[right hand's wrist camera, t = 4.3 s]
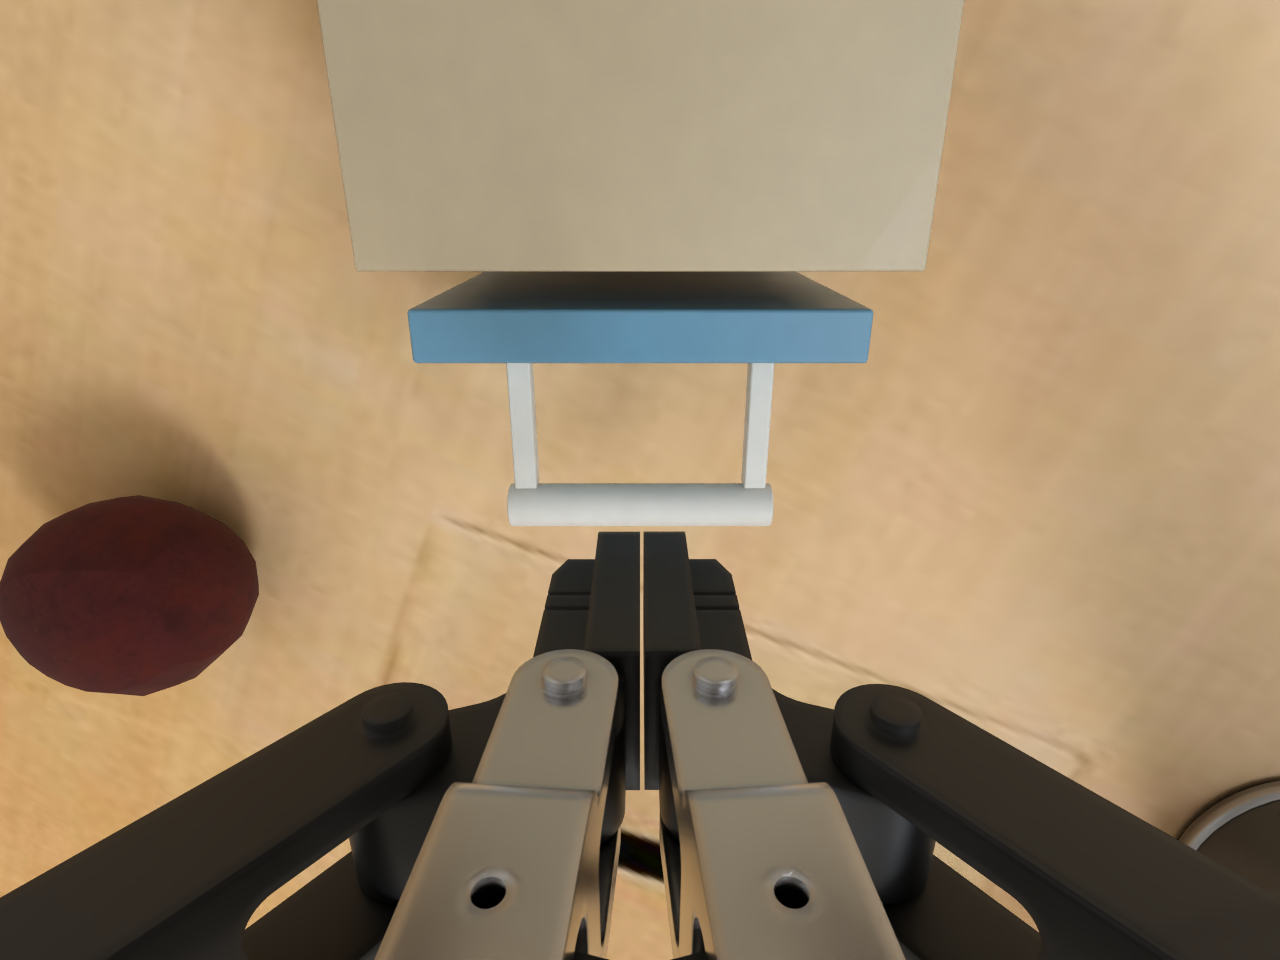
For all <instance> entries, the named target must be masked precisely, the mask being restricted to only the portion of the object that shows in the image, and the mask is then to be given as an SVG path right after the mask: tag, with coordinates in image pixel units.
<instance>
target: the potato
mask: <svg viewBox="0 0 1280 960" xmlns="http://www.w3.org/2000/svg"><path fill="white" fill-rule="evenodd" d="M258 595H259V585H258V576H257V569H256V562H255V560H254V558H253V556H252V555H251V553H250V551H249V550H248V548H247V547H246V545H245V543H244V542H243V540H242V539H240V538H239V537H238V536H237V535H236V534H235V533H234V532H232V531H231V530H230V529H229V528H228V527H227V526H226V525H224V524H223V523H221V522H219V521H217V520H215V519H213V518H211V517H209V516H207V515H205V514H203V513H201V512H199V511H197V510H195V509H193V508H191V507H189V506H186V505H183V504H180V503H176V502H171V501H166V500H160V499H155V498H150V497H144V496H130V497H121V498H116V499H110V500H105V501H100V502H95V503H90V504H87V505H85V506H82V507H80V508H77V509H75V510H72V511H70V512H68V513H65V514H63V515H61V516H59V517H57V518H55V519H53V520H51V521H49V522H47V523H45V524H43V525H42V526H41V527H40V528H39V529H38V530H37V531H36V532H35V533H34V534H33V535H32V536H31V537H30V538H29V539H28V540H27V541H25V542H24V543H23V544H22V545H21V546H20V547H19V548H18V549H17V551H16V552H15V553H14V554H13V555H12V556H11V557H10V558H9V559H8V561H7V564H6V567H5V570H4V573H3V576H2V579H1V581H0V622H1V624H2V627H3V629H4V632H5V634H6V636H7V638H8V639H9V640H10V642H11V643H12V644H13V646H14V647H15V648H16V650H17V651H18V652H19V654H20V655H21V656H22V657H23V658H24V659H25V660H26V661H27V662H28V663H29V664H30V665H32V666H33V667H35V668H36V669H37V670H39V671H40V672H42V673H43V674H45V675H46V676H48V677H50V678H52V679H54V680H56V681H58V682H60V683H62V684H64V685H67V686H70V687H73V688H77V689H80V690H83V691H88V692H101V693H114V694H126V695H138V696H145V695H148V694H151V693H154V692H157V691H160V690H163V689H166V688H169V687H172V686H175V685H178V684H181V683H183V682H186V681H188V680H191V679H193V678H195V677H197V676H198V675H199V674H200V673H201V672H202V671H203V670H205V669H206V668H207V667H208V666H209V665H210V664H211V663H212V662H214V661H215V660H216V659H217V658H218V657H219V656H220V655H221V654H222V653H223V652H224V651H226V650H227V649H228V648H229V647H230V646H231V645H232V644H233V643H234V642H235V641H236V640H237V639H238V638H239V637H241V636H242V634H243V632H244V630H245V628H246V625H247V623H248V621H249V619H250V616H251V614H252V611H253V608H254V606H255V603H256V600H257V598H258Z"/></svg>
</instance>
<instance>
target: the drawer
mask: <svg viewBox="0 0 1280 960" xmlns="http://www.w3.org/2000/svg"><path fill="white" fill-rule="evenodd" d="M872 320H873V310H871V309H869V308H867V307H865V306H863V305H861V304H859V303H857V302H855V301H853V300H851V299H849V298H847V297H845V296H843V295H841V294H839V293H837V292H835V291H833V290H831V289H829V288H827V287H825V286H823V285H821V284H819V283H817V282H815V281H813V280H811V279H809V278H807V277H805V276H803V275H801V274H799V273H797V272H795V271H485V272H483V273H481V274H479V275H477V276H476V277H474V278H472V279H470V280H468V281H466V282H464V283H462V284H460V285H458V286H456V287H454V288H452V289H450V290H448V291H446V292H444V293H442V294H440V295H438V296H436V297H434V298H432V299H430V300H428V301H426V302H424V303H422V304H420V305H418V306H416V307H414V308H412V309H410V310H408V321H409V329H410V337H411V346H412V354H413V360H414V362H416V363H506V365H507V379H508V393H509V407H510V421H511V436H512V450H513V464H514V478H515V483H513V484H511V485H510V487H509V491H508V500H507V510H508V519H509V523H510V525H511V526H770V525H771V522H772V518H773V493H772V488H771V485H770V484H768V483H766V473H767V459H768V445H769V431H770V417H771V403H772V389H773V375H774V363H865V362H867V360H868V353H869V345H870V336H871V328H872ZM533 363H748V375H747V392H746V410H745V427H744V444H743V462H742V479H741V480H742V483H538V482H539V466H538V449H537V431H536V414H535V396H534V379H533Z"/></svg>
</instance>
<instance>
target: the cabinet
mask: <svg viewBox="0 0 1280 960" xmlns="http://www.w3.org/2000/svg"><path fill="white" fill-rule="evenodd" d="M317 5H318V12H319V19H320V26H321V33H322V39H323V46H324V53H325V60H326V67H327V74H328V81H329V88H330V95H331V102H332V109H333V116H334V123H335V130H336V137H337V144H338V151H339V157H340V164H341V171H342V178H343V185H344V192H345V199H346V206H347V213H348V220H349V227H350V234H351V241H352V248H353V255H354V262H355V269H356V271H925V268H926V261H927V255H928V248H929V241H930V234H931V227H932V220H933V213H934V206H935V199H936V192H937V185H938V178H939V172H940V165H941V158H942V151H943V144H944V137H945V130H946V123H947V116H948V109H949V102H950V95H951V89H952V82H953V75H954V68H955V61H956V54H957V47H958V40H959V33H960V26H961V19H962V12H963V6H964V0H317Z"/></svg>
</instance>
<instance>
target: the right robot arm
mask: <svg viewBox="0 0 1280 960" xmlns="http://www.w3.org/2000/svg"><path fill="white" fill-rule="evenodd" d="M643 638H644V767H645V790H659V798H660V849H661V858H662V866H663V875H664V883H665V891H666V900H667V908H668V917H669V925H670V933H671V942H672V950H673V959H672V960H1280V781H1275V782H1270V783H1265V784H1261V785H1258V786H1254V787H1251V788H1248V789H1246V790H1243V791H1240V792H1238V793H1236V794H1234V795H1231V796H1229V797H1228V798H1226V799H1224V800H1222V801H1220V802H1219V803H1217V804H1215V805H1214V806H1212V807H1211V808H1209V809H1208V810H1207V811H1205V812H1204V813H1203V814H1202V815H1200V816H1199V817H1198V818H1197V819H1196V820H1195V821H1194V822H1193V823H1192V824H1191V825H1190V826H1189V827H1188V828H1187V829H1186V830H1185V832H1184V833H1183V834H1182V836H1181V837H1180V839H1179V840H1177V839H1175V838H1173V837H1172V836H1170V835H1168V834H1166V833H1165V832H1163V831H1161V830H1159V829H1158V828H1156V827H1154V826H1152V825H1150V824H1149V823H1147V822H1145V821H1143V820H1142V819H1140V818H1138V817H1136V816H1135V815H1133V814H1131V813H1129V812H1128V811H1126V810H1124V809H1122V808H1121V807H1119V806H1117V805H1115V804H1113V803H1112V802H1110V801H1108V800H1106V799H1105V798H1103V797H1101V796H1099V795H1098V794H1096V793H1094V792H1092V791H1091V790H1089V789H1087V788H1085V787H1083V786H1082V785H1080V784H1078V783H1076V782H1075V781H1073V780H1071V779H1069V778H1068V777H1066V776H1064V775H1062V774H1061V773H1059V772H1057V771H1055V770H1054V769H1052V768H1050V767H1048V766H1046V765H1045V764H1043V763H1041V762H1039V761H1038V760H1036V759H1034V758H1032V757H1031V756H1029V755H1027V754H1025V753H1024V752H1022V751H1020V750H1018V749H1016V748H1015V747H1013V746H1011V745H1009V744H1008V743H1006V742H1004V741H1002V740H1001V739H999V738H997V737H995V736H994V735H992V734H990V733H988V732H987V731H985V730H983V729H981V728H979V727H978V726H976V725H974V724H972V723H971V722H969V721H967V720H965V719H964V718H962V717H960V716H958V715H957V714H955V713H953V712H951V711H949V710H948V709H946V708H944V707H942V706H941V705H939V704H937V703H935V702H934V701H932V700H930V699H928V698H927V697H925V696H923V695H921V694H919V693H916V692H914V691H911V690H909V689H905V688H902V687H898V686H893V685H886V684H868V685H861V686H858V687H854V688H852V689H850V690H848V691H846V692H845V693H844V694H842V695H841V696H840V698H839V699H838V700H837V703H836V705H835V710H834V709H829V708H825V707H820V706H816V705H811V704H807V703H803V702H800V701H796V700H794V699H791V698H788V697H786V696H784V695H782V694H780V693H778V692H777V691H775V690H774V689H772V688H771V685H770V683H769V680H768V678H767V676H766V674H765V672H764V671H763V670H762V669H761V667H759V666H758V665H757V664H756V663H755V662H753V661H752V658H751V653H750V649H749V645H748V641H747V637H746V633H745V629H744V624H743V620H742V616H741V612H740V610H739V604H738V600H737V595H736V591H735V587H734V583H733V579H732V575H731V573H729V572H728V571H727V570H726V569H725V568H724V567H723V566H722V565H721V564H720V563H719V562H718V561H717V560H716V559H689V558H688V550H687V543H686V536H685V532H644V595H643ZM625 790H640V532H599V533H598V541H597V549H596V557H595V559H568V560H567V561H566V562H565V563H564V564H563V565H562V566H561V567H560V568H559V569H558V570H557V571H555V572H554V573H553V574H552V578H551V582H550V587H549V591H548V595H547V600H546V604H545V610H544V613H543V617H542V621H541V626H540V630H539V634H538V639H537V643H536V647H535V652H534V656H533V658H532V659H530V660H528V661H527V662H525V663H524V664H523V665H522V666H521V667H519V669H518V670H517V671H516V672H515V674H514V676H513V678H512V680H511V683H510V685H509V688H508V690H507V693H505V694H503V695H501V696H499V697H497V698H495V699H492V700H489V701H486V702H483V703H479V704H475V705H471V706H466V707H462V708H457V709H453V710H448V705H447V702H446V700H445V698H444V697H443V695H442V694H441V693H440V692H438V691H437V690H436V689H434V688H432V687H430V686H427V685H423V684H418V683H406V682H404V683H393V684H387V685H383V686H379V687H376V688H373V689H370V690H368V691H365V692H363V693H361V694H359V695H357V696H355V697H353V698H352V699H350V700H348V701H346V702H345V703H343V704H341V705H339V706H338V707H336V708H334V709H332V710H331V711H329V712H327V713H325V714H323V715H322V716H320V717H318V718H316V719H315V720H313V721H311V722H309V723H308V724H306V725H304V726H302V727H301V728H299V729H297V730H295V731H294V732H292V733H290V734H288V735H286V736H285V737H283V738H281V739H279V740H278V741H276V742H274V743H272V744H271V745H269V746H267V747H265V748H264V749H262V750H260V751H258V752H256V753H255V754H253V755H251V756H249V757H248V758H246V759H244V760H242V761H241V762H239V763H237V764H235V765H234V766H232V767H230V768H228V769H227V770H225V771H223V772H221V773H219V774H218V775H216V776H214V777H212V778H211V779H209V780H207V781H205V782H204V783H202V784H200V785H198V786H197V787H195V788H193V789H191V790H189V791H188V792H186V793H184V794H182V795H181V796H179V797H177V798H175V799H174V800H172V801H170V802H168V803H167V804H165V805H163V806H161V807H160V808H158V809H156V810H154V811H152V812H151V813H149V814H147V815H145V816H144V817H142V818H140V819H138V820H137V821H135V822H133V823H131V824H130V825H128V826H126V827H124V828H122V829H121V830H119V831H117V832H115V833H114V834H112V835H110V836H108V837H107V838H105V839H103V840H101V841H100V842H98V843H96V844H94V845H93V846H91V847H89V848H87V849H85V850H84V851H82V852H80V853H78V854H77V855H75V856H73V857H71V858H70V859H68V860H66V861H64V862H63V863H61V864H59V865H57V866H55V867H54V868H52V869H50V870H48V871H47V872H45V873H43V874H41V875H40V876H38V877H36V878H34V879H33V880H31V881H29V882H27V883H26V884H24V885H22V886H20V887H18V888H17V889H15V890H13V891H11V892H10V893H8V894H6V895H4V896H3V897H1V898H0V960H608V959H607V950H608V942H609V933H610V925H611V917H612V908H613V900H614V891H615V883H616V875H617V866H618V858H619V849H620V825H621V824H622V821H623V818H624V813H625ZM348 838H349V840H350V845H351V850H352V851H351V852H350V853H348V854H347V855H346V856H344V857H343V858H342V859H340V860H339V861H337V862H336V863H335V864H333V865H332V866H331V867H329V868H328V869H327V870H325V871H324V872H323V873H321V874H320V875H319V876H317V877H316V878H314V879H313V880H312V881H310V882H309V883H308V884H306V885H305V886H304V887H302V888H301V889H300V890H298V891H297V892H296V893H294V894H293V895H291V896H290V897H289V898H287V899H286V900H285V901H283V902H282V903H281V904H279V905H278V906H277V907H275V908H274V909H273V910H271V911H270V912H268V913H267V914H266V915H264V916H263V917H262V918H260V919H259V920H258V921H256V922H255V923H254V924H252V925H251V926H250V927H248V928H247V929H245V927H246V925H247V923H248V921H249V919H250V917H251V915H252V914H253V913H254V911H255V910H256V908H257V907H258V906H259V905H260V904H261V903H262V902H263V901H264V900H265V899H266V898H267V897H268V896H269V895H270V894H272V893H273V892H274V891H276V890H277V889H278V888H280V887H281V886H283V885H284V884H285V883H287V882H288V881H289V880H291V879H292V878H294V877H295V876H296V875H298V874H299V873H301V872H302V871H303V870H305V869H306V868H307V867H309V866H310V865H312V864H313V863H314V862H316V861H317V860H319V859H320V858H321V857H323V856H324V855H326V854H327V853H328V852H330V851H331V850H332V849H334V848H335V847H337V846H338V845H339V844H341V843H342V842H344V841H345V840H346V839H348ZM936 841H937V842H938V843H939V844H941V845H942V846H943V847H945V848H946V849H948V850H949V851H950V852H952V853H953V854H955V855H956V856H957V857H959V858H960V859H961V860H963V861H964V862H966V863H967V864H968V865H970V866H971V867H973V868H974V869H975V870H977V871H978V872H979V873H981V874H982V875H984V876H985V877H986V878H988V879H989V880H991V881H992V882H993V883H995V884H996V885H997V886H999V887H1000V888H1002V889H1003V890H1004V891H1006V892H1007V893H1009V894H1010V895H1011V896H1012V897H1014V898H1015V899H1016V900H1017V901H1018V902H1019V903H1020V904H1021V905H1022V906H1023V907H1024V908H1025V909H1026V910H1027V911H1028V913H1029V914H1030V915H1031V917H1032V918H1033V920H1034V922H1035V924H1036V925H1037V928H1038V930H1039V932H1037V931H1036V930H1035V929H1033V928H1032V927H1031V926H1029V925H1028V924H1026V923H1025V922H1024V921H1022V920H1021V919H1020V918H1018V917H1017V916H1016V915H1014V914H1013V913H1012V912H1010V911H1009V910H1008V909H1006V908H1005V907H1003V906H1002V905H1001V904H999V903H998V902H997V901H995V900H994V899H993V898H991V897H990V896H989V895H987V894H986V893H985V892H983V891H982V890H980V889H979V888H978V887H976V886H975V885H974V884H972V883H971V882H970V881H968V880H967V879H966V878H964V877H963V876H962V875H960V874H959V873H957V872H956V871H955V870H953V869H952V868H951V867H949V866H948V865H947V864H945V863H944V862H943V861H941V860H940V859H939V858H937V857H936V856H934V855H933V851H934V847H935V842H936Z"/></svg>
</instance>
